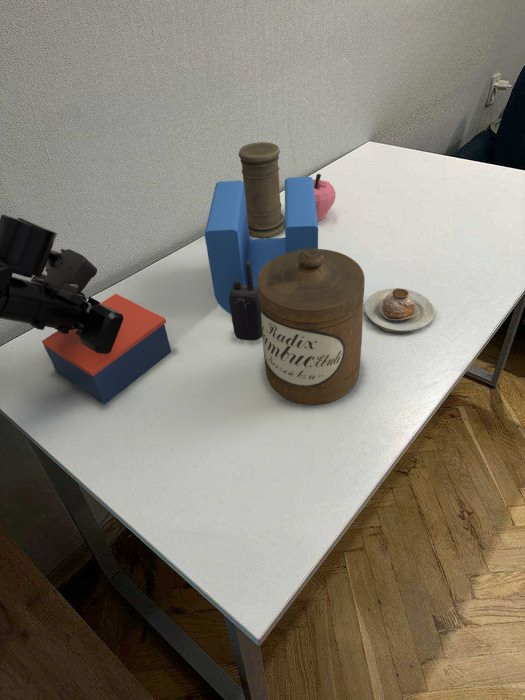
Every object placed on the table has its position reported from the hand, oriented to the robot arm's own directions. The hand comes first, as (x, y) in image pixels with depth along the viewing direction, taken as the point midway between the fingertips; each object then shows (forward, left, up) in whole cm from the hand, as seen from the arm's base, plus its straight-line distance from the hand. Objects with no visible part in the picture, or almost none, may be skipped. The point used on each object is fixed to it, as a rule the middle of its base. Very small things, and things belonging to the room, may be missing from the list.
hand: (113, 320), depth 82 cm
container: (+33, +34, -8) cm, 48 cm away
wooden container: (+29, -13, -8) cm, 33 cm away
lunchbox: (-2, -1, -7) cm, 8 cm away
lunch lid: (-2, -1, -1) cm, 2 cm away
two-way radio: (+21, -2, -8) cm, 23 cm away
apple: (+45, +34, -8) cm, 57 cm away
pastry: (+48, -4, -8) cm, 49 cm away
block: (+28, +11, -8) cm, 31 cm away
